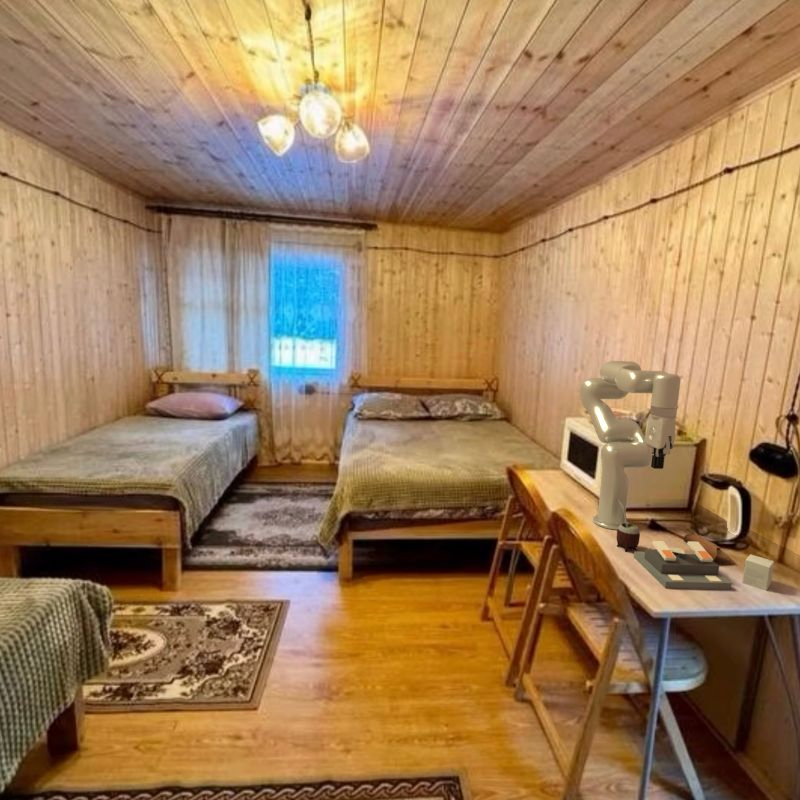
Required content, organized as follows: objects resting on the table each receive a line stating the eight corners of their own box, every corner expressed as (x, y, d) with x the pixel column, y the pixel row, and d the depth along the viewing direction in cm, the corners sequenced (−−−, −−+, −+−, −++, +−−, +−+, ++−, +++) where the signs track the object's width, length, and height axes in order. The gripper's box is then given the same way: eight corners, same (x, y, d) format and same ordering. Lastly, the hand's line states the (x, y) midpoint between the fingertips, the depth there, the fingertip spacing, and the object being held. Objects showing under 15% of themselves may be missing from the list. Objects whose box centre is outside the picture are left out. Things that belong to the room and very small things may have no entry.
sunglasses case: (740, 565, 158) (732, 548, 157) (720, 575, 158) (711, 558, 157) (706, 541, 176) (698, 525, 175) (688, 550, 176) (680, 535, 175)
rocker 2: (686, 546, 156) (688, 541, 155) (696, 546, 156) (698, 541, 155) (700, 564, 148) (702, 558, 147) (711, 564, 148) (713, 558, 147)
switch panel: (633, 557, 162) (635, 542, 161) (691, 558, 162) (693, 544, 161) (665, 588, 143) (667, 571, 142) (730, 589, 143) (732, 573, 142)
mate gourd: (637, 555, 163) (642, 511, 161) (611, 549, 167) (615, 506, 165) (639, 546, 170) (643, 504, 168) (614, 541, 174) (618, 500, 171)
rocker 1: (651, 546, 155) (652, 540, 155) (661, 546, 155) (663, 540, 155) (664, 563, 148) (665, 557, 147) (674, 563, 148) (676, 557, 147)
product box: (747, 576, 151) (750, 553, 150) (771, 584, 147) (775, 561, 146) (741, 582, 147) (745, 559, 146) (766, 591, 143) (770, 567, 142)
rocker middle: (669, 554, 155) (669, 547, 155) (679, 554, 155) (679, 547, 155) (684, 557, 147) (684, 549, 147) (695, 557, 147) (694, 550, 147)
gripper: (640, 408, 166) (634, 461, 169) (664, 416, 151) (657, 474, 154) (662, 408, 166) (656, 462, 169) (688, 417, 151) (681, 475, 154)
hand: (656, 467), depth 161 cm, fingers closed
